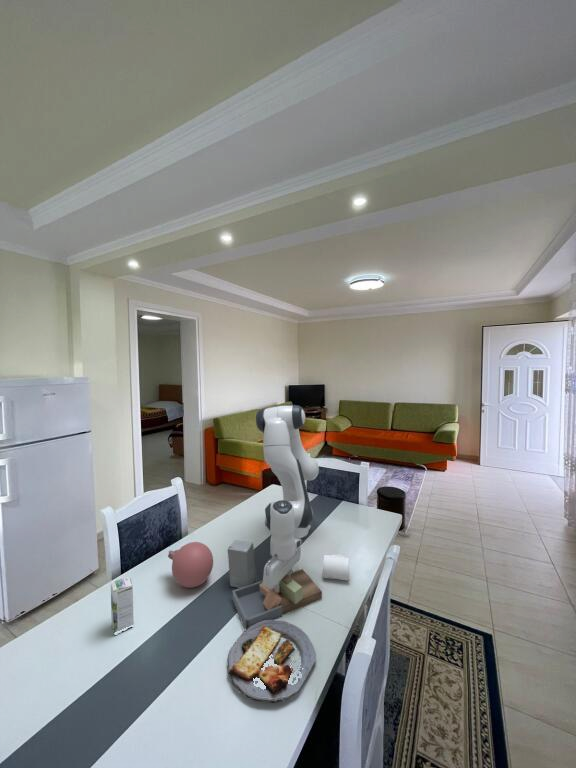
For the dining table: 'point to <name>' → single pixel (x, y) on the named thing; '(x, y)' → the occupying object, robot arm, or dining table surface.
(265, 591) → the tile
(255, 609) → the tray
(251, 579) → the skincare box
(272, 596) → the tile
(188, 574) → the balloon
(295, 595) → the green bar
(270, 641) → the food plate
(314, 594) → the brown flat block
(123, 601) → the syrup box
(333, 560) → the mug
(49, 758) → the dining table surface
